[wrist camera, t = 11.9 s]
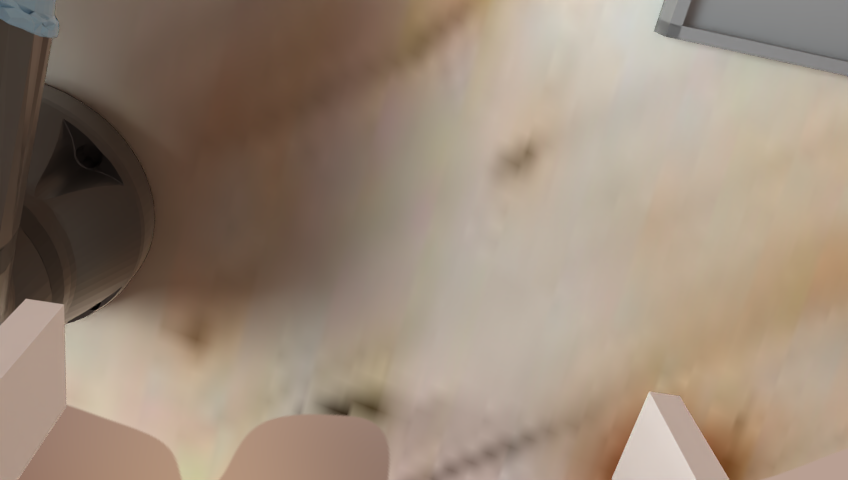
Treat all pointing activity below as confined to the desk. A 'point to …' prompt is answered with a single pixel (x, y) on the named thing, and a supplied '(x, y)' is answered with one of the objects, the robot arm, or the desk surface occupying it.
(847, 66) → the tray
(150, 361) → the desk surface
